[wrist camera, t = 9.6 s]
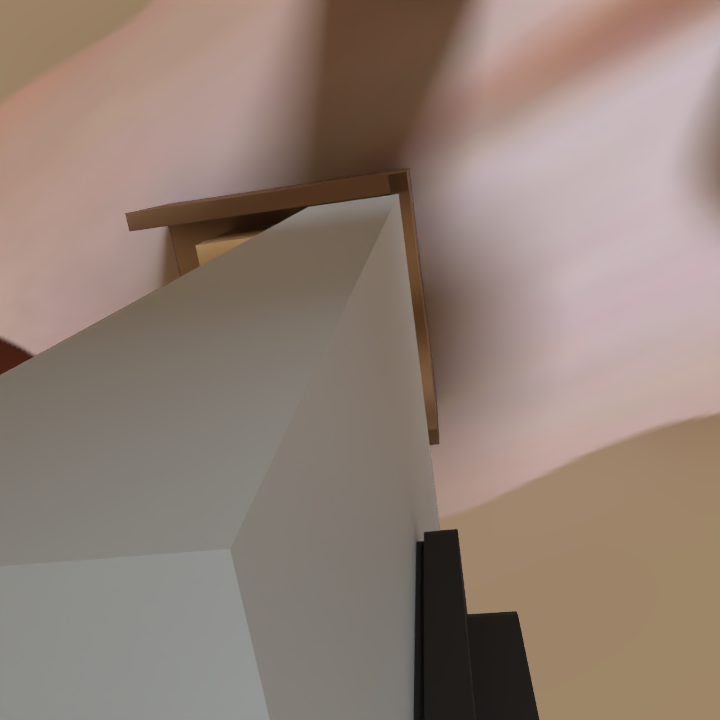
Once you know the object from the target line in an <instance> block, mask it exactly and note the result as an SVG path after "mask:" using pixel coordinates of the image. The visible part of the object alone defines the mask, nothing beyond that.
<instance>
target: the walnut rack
mask: <svg viewBox="0 0 720 720" xmlns="http://www.w3.org/2000/svg"><path fill="white" fill-rule="evenodd" d="M395 194H399V201H400V209H401V217H402V225H403V233H404V241H405V250H406V258H407V266H408V274H409V282H410V290H411V298H412V306H413V314H414V322H415V330H416V339H417V347H418V355H419V363H420V371H421V379H422V387H423V395H424V403H425V411H426V419H427V427H428V436H429V444H430V445H434V444H439V430H438V413H437V399H436V391H435V382H434V374H433V365H432V357H431V349H430V340H429V332H428V324H427V315H426V307H425V298H424V290H423V282H422V273H421V265H420V256H419V248H418V240H417V231H416V223H415V215H414V206H413V198H412V189H411V181H410V173H409V168H407V169H400V170H393V171H387V172H380V173H373V174H367V175H360V176H353V177H346V178H340V179H333V180H326V181H320V182H313V183H306V184H299V185H293V186H286V187H279V188H273V189H266V190H259V191H252V192H246V193H239V194H232V195H225V196H219V197H212V198H205V199H199V200H192V201H185V202H178V203H172V204H167V205H162V206H158V207H153V208H148V209H144V210H139V211H135V212H130V213H126V218H127V222H128V227H129V231H135V230H142V229H149V228H156V227H163V226H169V228H170V232H171V236H172V241H173V245H174V250H175V254H176V259H177V263H178V267H179V272H180V276H183V275H185V274H187V273H188V272H190V271H192V270H194V269H196V268H198V267H199V266H200V264H199V259H198V255H197V250H196V246H195V245H197V244H200V243H202V242H204V241H207V240H209V239H211V238H214V237H216V236H218V235H221V234H223V233H225V232H228V231H230V230H237V229H244V228H251V227H258V226H265V225H272V224H278V223H280V222H282V221H284V220H285V219H287V218H289V217H291V216H293V215H295V214H296V213H298V212H300V211H302V210H304V209H306V208H307V207H311V206H318V205H325V204H332V203H339V202H346V201H353V200H360V199H367V198H374V197H381V196H388V195H395Z"/></svg>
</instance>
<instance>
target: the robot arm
mask: <svg viewBox="0 0 720 720" xmlns="http://www.w3.org/2000/svg"><path fill="white" fill-rule="evenodd" d="M414 720H539V716H538V711H537V706H536V702H535V697H534V692H533V687H532V682H531V677H530V672H529V667H528V662H527V657H526V652H525V647H524V642H523V638H522V633H521V628H520V623H519V618H518V614H517V612H499V613H484V614H467V606H466V598H465V589H464V581H463V573H462V564H461V555H460V547H459V538H458V530H457V529H454V530H441V531H428V532H424V541H417V542H416V589H415V656H414Z"/></svg>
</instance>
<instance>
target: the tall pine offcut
mask: <svg viewBox="0 0 720 720" xmlns="http://www.w3.org/2000/svg"><path fill="white" fill-rule="evenodd" d="M274 225H276V224H272V225H265V226H258V227H251V228H244V229H237V230H230V231H228V232H225V233H223V234H221V235H218V236H216V237H214V238H211V239H209V240H207V241H204V242H202V243H200V244H197V245H195V246H196V250H197V255H198V259H199V264H200V266H201V265H203V264H205V263H207V262H209V261H210V260H212V259H214V258H216V257H218V256H220V255H221V254H223V253H225V252H227V251H229V250H230V249H232V248H234V247H236V246H238V245H240V244H241V243H243V242H245V241H247V240H249V239H251V238H252V237H254V236H256V235H258V234H260V233H262V232H263V231H265V230H267V229H269V228H271V227H273V226H274Z"/></svg>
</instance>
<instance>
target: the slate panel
mask: <svg viewBox="0 0 720 720" xmlns="http://www.w3.org/2000/svg"><path fill="white" fill-rule="evenodd" d="M428 531H440V525H439V516H438V508H437V500H436V492H435V484H434V476H433V468H432V460H431V452H430V444H429V436H428V427H427V419H426V411H425V403H424V395H423V387H422V379H421V371H420V363H419V355H418V347H417V339H416V330H415V322H414V314H413V306H412V298H411V290H410V282H409V274H408V266H407V258H406V250H405V241H404V233H403V225H402V217H401V209H400V201H399V194H395V195H388V196H381V197H374V198H367V199H360V200H353V201H346V202H339V203H332V204H325V205H318V206H311V207H307V208H306V209H304V210H302V211H300V212H298V213H296V214H295V215H293V216H291V217H289V218H287V219H285V220H284V221H282V222H280V223H278V224H276V225H274V226H273V227H271V228H269V229H267V230H265V231H263V232H262V233H260V234H258V235H256V236H254V237H252V238H251V239H249V240H247V241H245V242H243V243H241V244H240V245H238V246H236V247H234V248H232V249H230V250H229V251H227V252H225V253H223V254H221V255H220V256H218V257H216V258H214V259H212V260H210V261H209V262H207V263H205V264H203V265H201V266H199V267H198V268H196V269H194V270H192V271H190V272H188V273H187V274H185V275H183V276H181V277H179V278H177V279H176V280H174V281H172V282H170V283H168V284H166V285H165V286H163V287H161V288H159V289H157V290H155V291H154V292H152V293H150V294H148V295H146V296H144V297H143V298H141V299H139V300H137V301H135V302H133V303H132V304H130V305H128V306H126V307H124V308H122V309H121V310H119V311H117V312H115V313H113V314H111V315H110V316H108V317H106V318H104V319H102V320H100V321H99V322H97V323H95V324H93V325H91V326H89V327H88V328H86V329H84V330H82V331H80V332H78V333H77V334H75V335H73V336H71V337H69V338H68V339H66V340H64V341H62V342H60V343H58V344H57V345H55V346H53V347H51V348H49V349H47V350H46V351H44V352H42V353H40V354H38V355H36V356H35V357H33V358H31V359H29V360H27V361H26V362H24V363H22V364H20V365H18V366H16V367H14V368H13V369H11V370H9V371H7V372H5V373H3V374H2V375H0V720H414V656H415V589H416V542H417V541H424V532H428Z"/></svg>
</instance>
